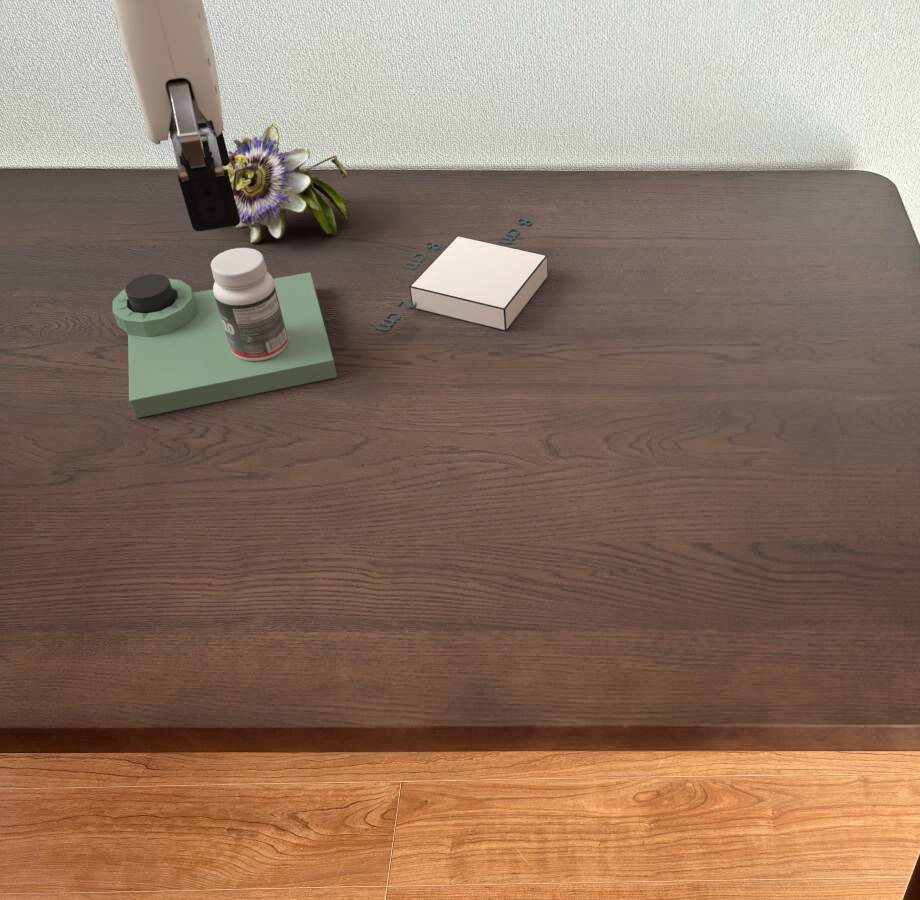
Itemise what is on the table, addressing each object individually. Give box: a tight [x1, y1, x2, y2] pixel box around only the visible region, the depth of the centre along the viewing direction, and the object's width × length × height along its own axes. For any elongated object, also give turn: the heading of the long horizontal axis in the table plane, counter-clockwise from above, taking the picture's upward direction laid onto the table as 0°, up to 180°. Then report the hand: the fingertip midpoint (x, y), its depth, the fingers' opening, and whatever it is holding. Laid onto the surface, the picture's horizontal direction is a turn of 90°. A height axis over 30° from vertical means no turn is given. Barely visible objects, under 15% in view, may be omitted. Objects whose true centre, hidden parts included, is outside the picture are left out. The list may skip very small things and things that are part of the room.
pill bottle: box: [210, 247, 288, 361], centre depth 79 cm, size 5×5×8 cm
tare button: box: [124, 273, 175, 314], centre depth 83 cm, size 4×4×2 cm
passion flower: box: [223, 123, 348, 244], centre depth 97 cm, size 11×11×12 cm
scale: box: [112, 271, 338, 419], centre depth 83 cm, size 17×15×4 cm
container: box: [374, 217, 549, 333], centre depth 91 cm, size 20×12×3 cm, turn 159°
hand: (212, 195), depth 72 cm, fingers open, 9 cm apart
